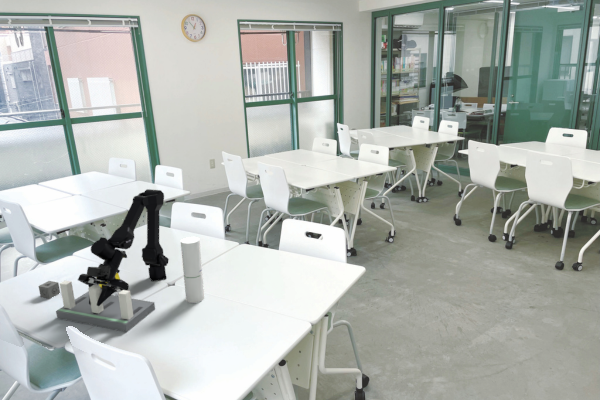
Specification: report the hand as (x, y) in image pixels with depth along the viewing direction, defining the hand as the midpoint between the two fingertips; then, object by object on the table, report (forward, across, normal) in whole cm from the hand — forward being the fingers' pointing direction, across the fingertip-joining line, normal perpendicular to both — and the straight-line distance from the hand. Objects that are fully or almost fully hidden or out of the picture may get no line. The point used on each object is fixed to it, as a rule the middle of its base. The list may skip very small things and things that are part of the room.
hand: (93, 305), depth 157 cm
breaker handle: (+1, 0, +3) cm, 4 cm away
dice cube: (-3, -33, +12) cm, 35 cm away
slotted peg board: (+1, 0, +8) cm, 8 cm away
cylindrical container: (-13, +26, +23) cm, 37 cm away
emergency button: (-12, -15, +22) cm, 30 cm away
